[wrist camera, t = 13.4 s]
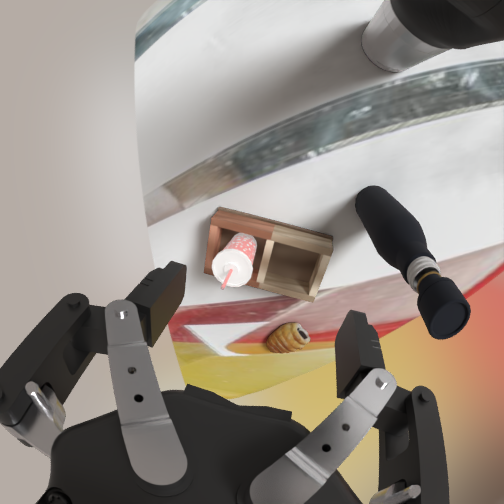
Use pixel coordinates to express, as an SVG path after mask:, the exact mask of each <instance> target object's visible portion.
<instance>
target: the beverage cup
mask: <svg viewBox="0 0 504 504" xmlns="http://www.w3.org/2000/svg"><path fill="white" fill-rule="evenodd" d="M256 248H257V242H256V240H255V238H254V237H253V236H252V235H248V234H244V233H238V234H236V235H235V236H234V237H233V238H232V239H231V241H230V242H229V243H228V244H227V246H226V247H225V248H224V249H223V250H222V251H221V252H219V253H218V254H217V255H216V257H215V258H214V260H213V262H212V270H213V274H214V276H215V277H216V278H217V280H218V281H220V282H221V283H223V284H222V286H221V289H222V290H223V289H224V288H225V286H226V285H227V286H230V287H240V286H242V285H244V284H246V283H247V282H248V281H249V280H250V278H251V275H252V271H253V267H252V264H253V260H254V256H255V252H256Z"/></svg>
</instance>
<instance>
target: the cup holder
mask: <svg viewBox="0 0 504 504" xmlns="http://www.w3.org/2000/svg"><path fill="white" fill-rule="evenodd" d="M238 233H244V234H248V235H252V236H253V237H254V238H255V240H256V242H257V248H256V252H255V256H254V260H253V264H252V267H253V271H252V275H251V278H250V280H249V281H248V282H247V283H246V284H245V285H248V286H252V287H256V288H259V289H263V290H267V291H271V292H274V293H278V294H282V295H286V296H290V297H293V298H297V299H301V300H305V301H309V302H314V299H315V297H316V294H317V292H318V289H319V287H320V284H321V282H322V279H323V276H324V274H325V271H326V268H327V266H328V263H329V260H330V258H331V255H332V252H333V246H332V240H333V236H330V235H326V234H323V233H319V232H315V231H312V230H308V229H305V228H301V227H297V226H294V225H290V224H286V223H282V222H279V221H275V220H271V219H267V218H263V217H259V216H256V215H252V214H248V213H244V212H240V211H236V210H232V209H228V208H223V207H219V208H218V212H217V213H216V214H215V215H214V216H213V217H212V218H211V225H210V232H209V239H208V246H207V253H206V260H205V268H204V273H206V274H209V275H213V276H214V274H213V270H212V262H213V260H214V258H215V257H216V255H217V254H218V253H219V252H221V251H222V250H223V249H224V248H225V247H226V246H227V244H228V243H229V242H230V241H231V239H232V238H233V237H234V236H235V235H236V234H238Z"/></svg>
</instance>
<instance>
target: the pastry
mask: <svg viewBox="0 0 504 504" xmlns="http://www.w3.org/2000/svg"><path fill="white" fill-rule="evenodd" d="M308 342H310V337H309V335H308V333H307V331H306V330H304V329H303V328H302V326H301V325H300V324H299V323H286V324H284V325H282V326H280V327H279V328H278V329H276V330H275V331H274V332H273V333H272V334H271V335H270V336H269V337H268V339H267V347H268V348H269V350H270V351H271V352H274V353H285V352H286V353H289V352H295V351H296V350H297V349H302V348H303V347H304V346H305V345H306V344H307V343H308Z"/></svg>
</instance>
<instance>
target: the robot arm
mask: <svg viewBox="0 0 504 504" xmlns="http://www.w3.org/2000/svg"><path fill="white" fill-rule="evenodd" d="M503 40H504V0H384V2H383V3H382V5H381V6H380V8H379V9H378V11H377V12H376V14H375V15H374V17H373V18H372V20H371V21H370V23H369V24H368V26H367V27H366V29H365V30H364V32H363V34H362V47H363V50H364V52H365V54H366V55H367V57H368V58H369V59H370V60H371V61H372V62H373V63H374V64H375V65H377V66H378V67H380V68H382V69H384V70H387V71H390V72H401V71H404V70H406V69H408V68H411V67H413V66H415V65H417V64H419V63H421V62H423V61H425V60H428V59H430V58H432V57H434V56H436V55H438V54H441V53H443V52H445V51H447V50H450V49H452V48H454V49H466V48H470V47H474V46H478V45H482V44H487V43H493V42H498V41H503ZM186 270H187V267H186V265H184V264H180V263H177V262H174V261H170V262H169V264H168V265H167V266H166V267H165V268H164V269H162V268H157V269H155V270H153V271H151V272H149V273H148V275H147V276H146V277H145V278H144V279H143V280H142V281H141V282H140V284H138V285H137V286H136V287H135V289H134V290H133V291H132V292H131V293H130V294H129V295H128V296H127V297H126V298H125V299H124V300H115V301H113V302H111V303H109V304H108V305H107V306H106V307H101V306H94V305H89V300H88V298H87V297H86V296H85V295H83V294H80V293H72V294H68V295H66V296H65V297H63V298H62V299H61V300H60V301H59V302H58V303H57V304H56V306H55V307H54V308H53V309H52V310H51V311H50V312H49V313H48V314H47V315H46V316H45V317H44V318H43V319H42V320H41V322H40V323H39V324H38V325H37V326H36V327H35V328H34V329H33V330H32V331H31V333H30V334H29V335H28V336H27V337H26V338H25V339H24V341H23V342H22V343H21V344H20V345H19V346H18V347H17V349H16V350H15V351H14V352H13V353H12V355H11V356H10V357H9V358H8V360H7V361H6V362H5V363H4V365H3V366H2V367H1V368H0V424H1V425H2V426H3V427H5V428H6V430H7V431H8V432H10V433H11V434H12V435H13V436H14V437H16V438H17V439H18V440H19V441H20V442H22V443H23V444H24V445H26V446H28V447H34V448H36V449H37V450H39V451H40V452H41V453H43V454H44V455H46V456H47V457H49V458H50V459H51V474H50V480H49V485H48V488H47V490H46V492H45V493H44V494H43V495H42V497H41V498H40V499H39V500H38V501H37V502H36V504H362V502H361V501H360V500H359V498H358V497H357V496H356V494H355V493H354V492H353V491H352V489H351V488H350V486H349V485H348V484H347V482H346V481H345V480H344V478H343V477H342V476H341V474H340V473H339V472H338V470H337V468H338V467H339V466H340V465H341V464H342V462H343V461H344V460H345V459H346V458H347V457H348V456H349V454H350V453H351V452H352V451H353V450H354V449H355V447H356V446H357V445H358V444H359V442H360V441H361V440H362V439H363V437H364V436H365V435H366V434H367V432H368V431H369V430H370V428H371V427H374V428H377V429H379V487H378V492H377V493H376V494H374V495H373V497H372V498H371V500H370V502H369V504H449V486H448V485H449V484H448V472H447V463H446V454H445V447H444V440H443V433H442V427H441V422H440V417H439V412H438V407H437V402H436V398H435V396H434V394H433V392H432V391H431V390H430V389H428V388H427V387H424V386H417V387H415V388H414V389H413V390H412V391H408V390H406V389H403V388H401V387H399V386H397V383H396V380H395V378H394V376H393V375H392V374H391V373H390V372H388V371H387V370H386V369H385V364H384V360H383V355H382V351H381V349H380V348H381V346H380V343H379V338H378V333H377V332H376V330H375V329H374V327H373V326H372V325H369V324H368V322H367V318H366V314H365V313H362V312H358V311H354V310H350V311H349V312H348V314H347V316H346V318H345V320H344V322H343V324H342V326H341V327H340V329H339V331H338V333H337V336H336V340H335V357H336V379H337V398H341V399H345V400H344V401H343V402H342V403H341V404H340V405H339V406H338V407H337V408H336V409H335V410H334V411H333V412H332V413H331V414H330V415H329V416H328V417H327V418H326V419H325V420H324V421H323V422H322V423H321V424H320V425H319V426H317V427H316V428H315V429H314V430H313V431H312V432H310V431H309V430H308V429H306V428H305V427H304V426H303V425H301V424H300V423H298V422H296V421H295V420H292V419H291V415H292V412H291V411H286V410H281V409H276V408H272V407H267V406H239V405H236V404H234V403H232V402H230V401H228V400H227V399H225V398H223V397H221V396H219V395H217V394H215V393H214V392H211V391H208V390H205V389H202V388H199V387H196V386H193V385H190V384H187V386H186V388H185V390H167V391H162V392H161V391H160V388H159V385H158V381H157V378H156V375H155V371H154V368H153V365H152V361H151V357H150V354H149V350H148V347H147V346H150V347H153V346H154V344H155V343H156V341H157V340H158V338H159V336H160V335H161V333H162V332H163V330H164V329H165V327H166V325H167V324H168V322H169V321H170V319H171V318H172V316H173V315H174V313H175V312H176V310H177V308H178V307H179V305H180V304H181V302H182V300H183V297H184V293H185V282H186ZM96 353H100V354H107V355H108V358H109V364H110V371H111V377H112V383H113V389H114V394H115V399H116V404H117V410H115V411H112V412H110V413H107V414H104V415H102V416H99V417H97V418H94V419H91V420H88V421H85V422H83V423H80V424H77V425H74V426H71V427H69V428H67V429H65V430H63V424H64V421H65V417H66V414H65V410H64V408H63V404H64V402H65V401H66V399H67V397H68V396H69V394H70V393H71V391H72V389H73V388H74V386H75V385H76V383H77V381H78V380H79V378H80V377H81V375H82V374H83V372H84V371H85V369H86V367H87V366H88V365H89V363H90V362H91V360H92V359H93V357H94V356H95V354H96ZM408 431H409V433H408Z"/></svg>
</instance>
